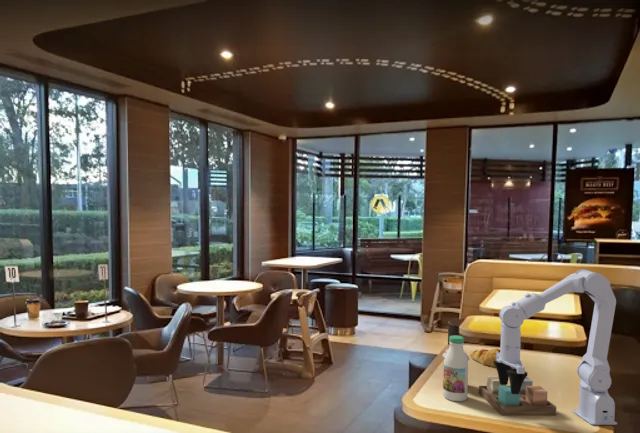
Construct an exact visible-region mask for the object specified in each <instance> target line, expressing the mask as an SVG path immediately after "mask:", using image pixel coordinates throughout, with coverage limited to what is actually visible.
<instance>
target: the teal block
mask: <svg viewBox="0 0 640 433" xmlns="http://www.w3.org/2000/svg"><path fill="white" fill-rule="evenodd" d="M498 401H499V402H500V403H501V404H502V405H504V406H519V403H520V392H519V394H512V393H511V388H510V385H506V386H499V396H498Z"/></svg>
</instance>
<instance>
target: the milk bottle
mask: <svg viewBox="0 0 640 433" xmlns="http://www.w3.org/2000/svg"><path fill="white" fill-rule="evenodd" d="M448 338H449V339H448V340H449V343H448V344H449V348H448V349H449V350H448V352H447V354H446V356H445V359H444V360H443V375H442V377H443V379H442V396H443V397H444V398H445V399H447V400H448V401H452V402H465V401H467V399H468V393H469V392H468V390H469V389H468V387H469V386H468V384H469V364H468V363H469V361H467V357H466V355H465V352H464V351H465V350H464V344H465V339H464V337H463V336H461V335H455V334H454V335H449V337H448Z"/></svg>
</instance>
